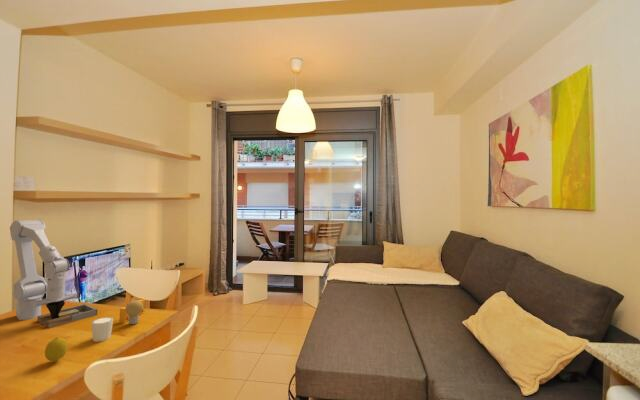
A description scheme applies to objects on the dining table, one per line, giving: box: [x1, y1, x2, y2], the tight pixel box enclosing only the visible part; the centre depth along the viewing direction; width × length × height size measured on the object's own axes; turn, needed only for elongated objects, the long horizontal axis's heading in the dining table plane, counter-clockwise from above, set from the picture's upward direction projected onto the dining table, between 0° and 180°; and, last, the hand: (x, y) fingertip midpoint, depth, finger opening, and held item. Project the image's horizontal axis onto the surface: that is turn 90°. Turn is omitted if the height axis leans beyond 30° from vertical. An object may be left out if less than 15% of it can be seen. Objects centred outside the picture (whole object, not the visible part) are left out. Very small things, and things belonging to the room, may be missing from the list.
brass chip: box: [58, 312, 70, 318], centre depth 126 cm, size 4×4×2 cm
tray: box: [61, 303, 98, 322], centre depth 131 cm, size 12×10×2 cm
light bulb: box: [125, 299, 143, 325], centre depth 126 cm, size 6×6×10 cm
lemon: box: [44, 337, 68, 363], centre depth 95 cm, size 6×6×8 cm
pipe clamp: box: [118, 299, 146, 324], centre depth 132 cm, size 12×4×6 cm, turn 173°
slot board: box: [36, 310, 96, 329], centre depth 127 cm, size 12×17×3 cm
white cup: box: [91, 316, 114, 343], centre depth 112 cm, size 7×7×7 cm
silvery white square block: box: [66, 309, 79, 316], centre depth 129 cm, size 4×4×2 cm
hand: (54, 319), depth 123 cm, fingers closed
